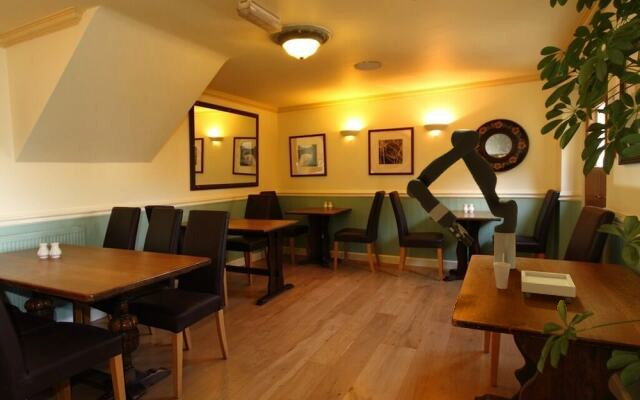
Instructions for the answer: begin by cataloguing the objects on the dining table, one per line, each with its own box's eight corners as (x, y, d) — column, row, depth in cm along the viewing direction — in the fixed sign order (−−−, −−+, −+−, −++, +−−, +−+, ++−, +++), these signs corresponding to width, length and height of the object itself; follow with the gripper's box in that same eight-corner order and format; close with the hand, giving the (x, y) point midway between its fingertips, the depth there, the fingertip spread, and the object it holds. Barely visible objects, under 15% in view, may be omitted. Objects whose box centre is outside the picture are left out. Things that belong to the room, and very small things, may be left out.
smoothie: (512, 290, 144) (513, 254, 143) (495, 289, 146) (495, 254, 145) (507, 285, 151) (508, 251, 150) (491, 284, 152) (491, 251, 151)
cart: (521, 285, 149) (521, 270, 149) (568, 290, 142) (569, 274, 141) (521, 299, 133) (521, 281, 133) (575, 305, 126) (575, 287, 125)
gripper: (446, 211, 149) (476, 241, 145) (451, 208, 162) (480, 235, 157) (432, 223, 152) (462, 253, 148) (439, 219, 165) (466, 247, 160)
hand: (471, 244), depth 152 cm, fingers open, 8 cm apart
